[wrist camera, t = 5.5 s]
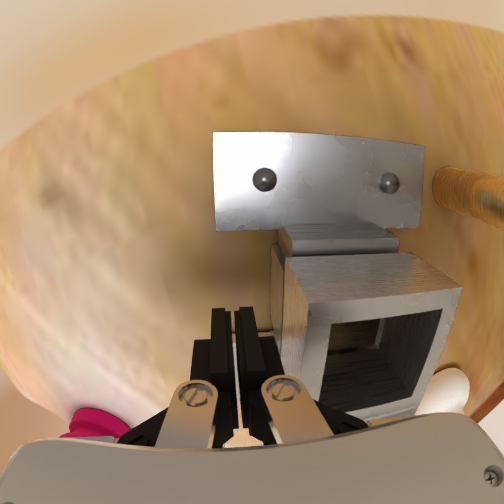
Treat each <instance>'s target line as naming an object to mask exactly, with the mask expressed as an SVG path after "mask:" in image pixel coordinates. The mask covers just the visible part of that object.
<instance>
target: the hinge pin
mask: <svg viewBox="0 0 504 504" xmlns="http://www.w3.org/2000/svg"><path fill="white" fill-rule="evenodd" d="M432 190H433V196H434V199H435V201H436V202H437V203H438V204H439V205H440V206H441V207H444V208H447V209H450V210H453V211H455V212H458V213H461V214H464V215H466V216H469V217H472V218H474V219H477V220H480V221H482V222H485V223H487V224H490V225H492V226H495V227H497V228H500V229H502V230H504V177H502V176H497V175H492V174H487V173H482V172H477V171H471V170H465V169H460V168H453V167H443V168H441V169H440V170H439V171H438V172H437V173H436V175H435V177H434V180H433V185H432Z"/></svg>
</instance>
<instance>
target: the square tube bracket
mask: <svg viewBox="0 0 504 504" xmlns="http://www.w3.org/2000/svg"><path fill="white" fill-rule="evenodd" d="M461 291H462V286H460V285H459V284H458V283H456V282H455V281H453V280H452V279H450V278H449V277H447V276H446V275H445V274H443V273H442V272H440V271H439V270H437V269H436V268H434V267H433V266H431V265H430V264H428V263H427V262H425V261H424V260H422V259H420V258H419V257H417V256H416V255H414V254H413V253H411V252H410V253H386V254H361V255H334V256H307V257H285V280H284V306H283V328H282V347H281V355H280V353H279V355H280V358H281V362H282V365H283V369H284V372H285V375H289V376H293V377H296V378H297V379H299V380H301V382H302V383H303V384H304V385H305V387H306V389H307V390H308V392H309V394H310V395H311V397H312V399H314V400H316V401H318V402H321V403H323V404H325V405H328V406H330V407H332V408H335V409H337V410H340V411H342V412H344V413H347V414H349V415H352V416H355V417H357V418H359V419H361V420H363V421H364V422H365V423H370V421H371V420H372V419H386V418H397V417H406V416H414V415H415V413H416V411H417V409H418V407H419V405H420V403H421V400H422V398H423V396H424V394H425V392H426V390H427V387H428V385H429V383H430V381H431V378H432V376H433V374H434V371H435V369H436V366H437V364H438V361H439V359H440V356H441V353H442V351H443V348H444V345H445V343H446V340H447V337H448V334H449V331H450V328H451V325H452V322H453V319H454V315H455V312H456V309H457V305H458V302H459V298H460V294H461ZM378 318H386V319H385V324H384V328H383V332H382V337H381V341H380V345H379V348H376V349H369V350H363V351H356V352H349V353H342V354H334V355H327V350H328V343H329V337H330V330H331V324H335V323H344V322H353V321H362V320H370V319H378ZM258 335H259V337H263V336H274V338H275V341H276V337H275V333H274V330H272V331H270V332H260V333H258ZM232 339H233V353H234V366H235V380H236V395H237V399H240V393H239V382H238V372H237V357H236V338H235V334H232ZM276 344H277V341H276ZM277 348H278V345H277ZM278 351H279V349H278Z"/></svg>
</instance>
